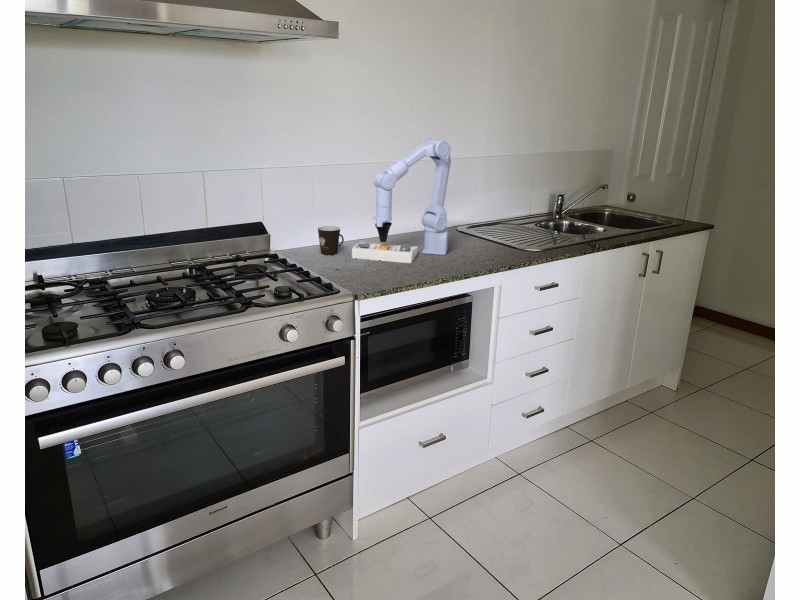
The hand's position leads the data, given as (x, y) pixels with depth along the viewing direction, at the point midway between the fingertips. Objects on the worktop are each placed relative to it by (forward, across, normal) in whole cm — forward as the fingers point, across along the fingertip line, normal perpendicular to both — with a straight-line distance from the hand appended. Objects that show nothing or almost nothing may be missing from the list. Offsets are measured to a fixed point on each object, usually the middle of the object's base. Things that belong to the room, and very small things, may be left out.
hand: (383, 241), depth 217 cm
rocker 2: (+4, -2, +8) cm, 9 cm away
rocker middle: (+3, -2, 0) cm, 4 cm away
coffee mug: (+7, 0, -21) cm, 22 cm away
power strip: (+7, -4, 0) cm, 8 cm away
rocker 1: (+3, -2, -8) cm, 9 cm away
